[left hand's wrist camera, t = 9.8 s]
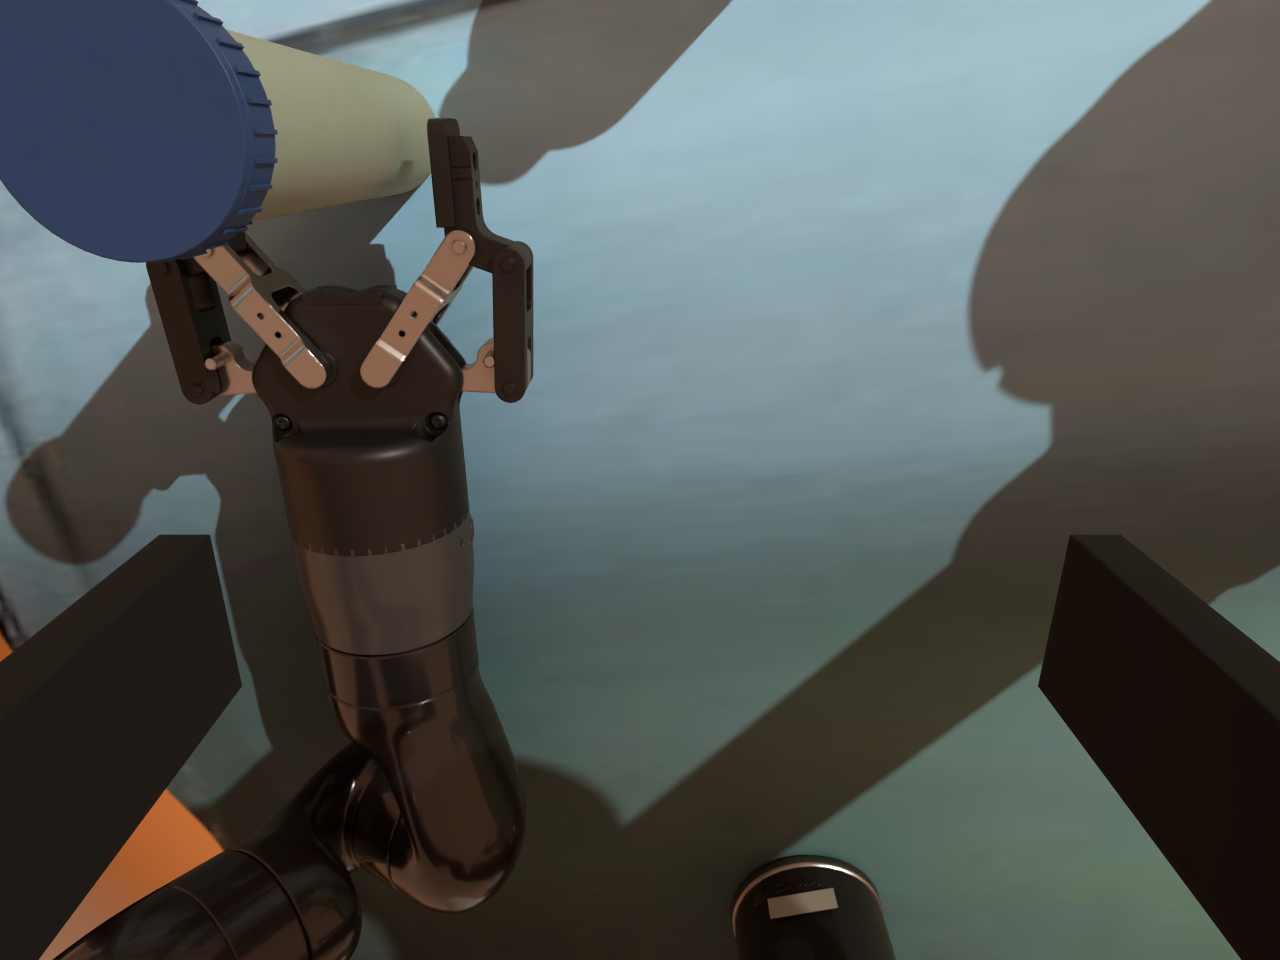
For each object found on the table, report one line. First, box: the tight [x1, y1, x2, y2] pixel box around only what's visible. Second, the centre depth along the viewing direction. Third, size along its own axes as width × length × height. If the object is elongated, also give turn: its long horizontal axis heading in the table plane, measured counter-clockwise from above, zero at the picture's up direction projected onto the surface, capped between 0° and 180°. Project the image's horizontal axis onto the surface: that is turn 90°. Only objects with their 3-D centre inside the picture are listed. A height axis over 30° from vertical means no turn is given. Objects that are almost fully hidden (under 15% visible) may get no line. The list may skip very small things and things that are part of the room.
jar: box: [227, 30, 435, 221], centre depth 27 cm, size 5×5×19 cm
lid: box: [0, 0, 278, 264], centre depth 19 cm, size 6×6×2 cm
